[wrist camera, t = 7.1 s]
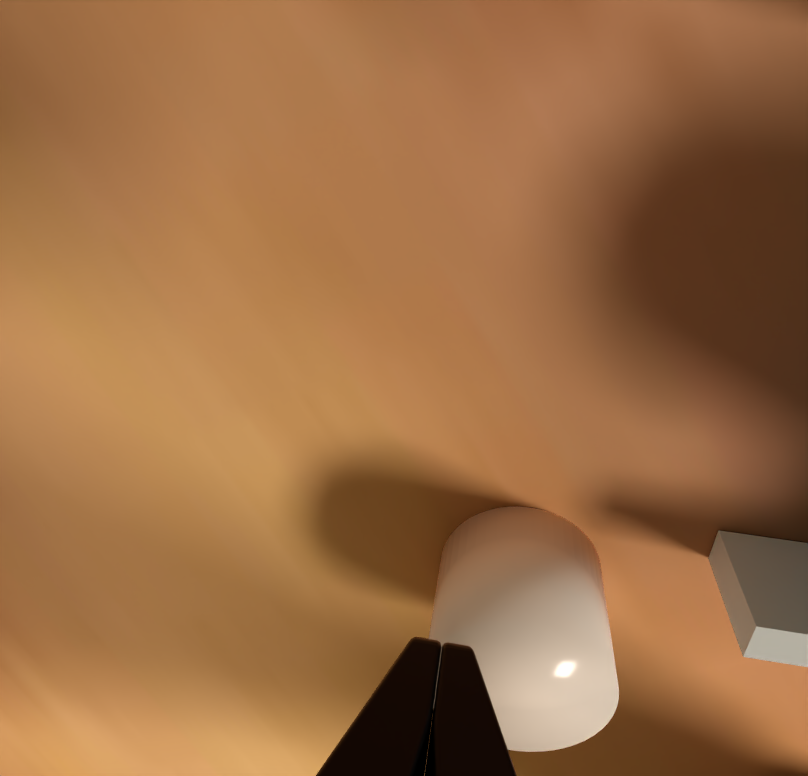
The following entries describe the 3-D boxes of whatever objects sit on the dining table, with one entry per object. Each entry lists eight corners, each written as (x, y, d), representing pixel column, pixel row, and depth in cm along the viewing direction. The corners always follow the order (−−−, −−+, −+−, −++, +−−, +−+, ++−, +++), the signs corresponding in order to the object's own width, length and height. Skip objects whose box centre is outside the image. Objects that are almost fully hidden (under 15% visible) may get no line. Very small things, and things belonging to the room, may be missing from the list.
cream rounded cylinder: (584, 637, 25) (597, 766, 20) (435, 612, 25) (417, 733, 21) (615, 518, 22) (639, 638, 18) (448, 495, 23) (430, 605, 18)
